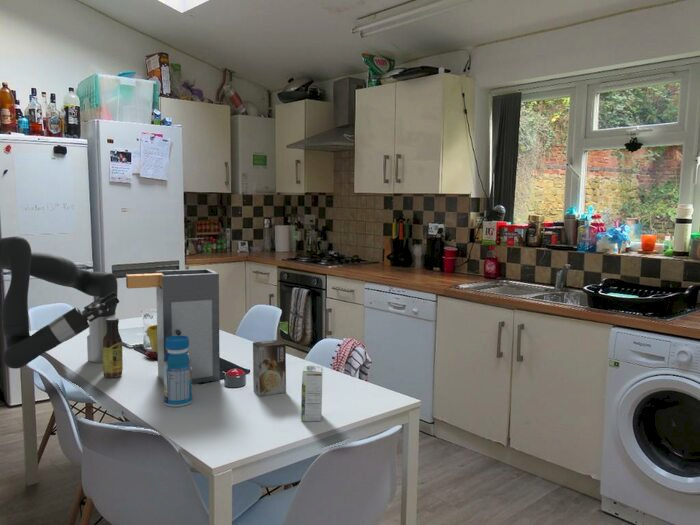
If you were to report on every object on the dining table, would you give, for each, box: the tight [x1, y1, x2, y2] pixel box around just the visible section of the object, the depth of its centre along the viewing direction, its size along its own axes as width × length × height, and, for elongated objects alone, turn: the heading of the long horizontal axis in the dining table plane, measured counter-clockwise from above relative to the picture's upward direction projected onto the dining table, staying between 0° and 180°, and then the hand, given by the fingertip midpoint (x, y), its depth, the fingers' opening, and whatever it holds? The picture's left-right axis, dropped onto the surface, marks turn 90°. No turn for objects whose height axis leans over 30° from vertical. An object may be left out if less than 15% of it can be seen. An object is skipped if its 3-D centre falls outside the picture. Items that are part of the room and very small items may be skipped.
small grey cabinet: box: [155, 268, 221, 386], centre depth 197 cm, size 18×16×36 cm
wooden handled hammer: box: [125, 272, 205, 289], centre depth 193 cm, size 26×9×4 cm, turn 116°
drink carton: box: [300, 365, 324, 422], centre depth 165 cm, size 6×6×14 cm
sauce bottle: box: [102, 317, 124, 379], centre depth 199 cm, size 6×6×20 cm
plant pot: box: [146, 324, 158, 352], centre depth 232 cm, size 10×10×10 cm
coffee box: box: [252, 339, 287, 397], centre depth 186 cm, size 9×6×16 cm
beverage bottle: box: [163, 335, 193, 408], centre depth 175 cm, size 8×8×20 cm
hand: (116, 296), depth 187 cm, fingers open, 8 cm apart
